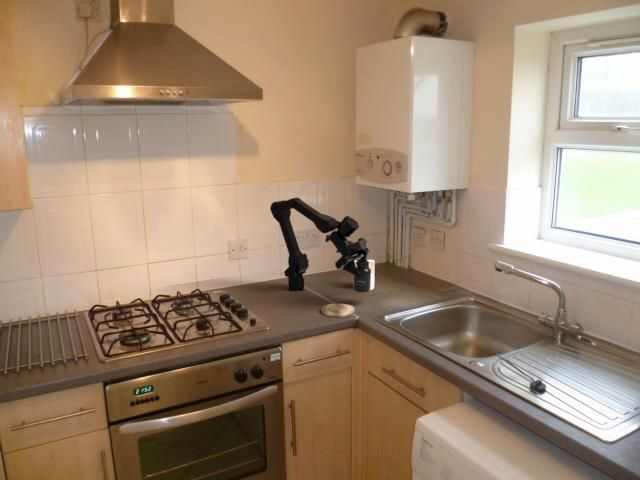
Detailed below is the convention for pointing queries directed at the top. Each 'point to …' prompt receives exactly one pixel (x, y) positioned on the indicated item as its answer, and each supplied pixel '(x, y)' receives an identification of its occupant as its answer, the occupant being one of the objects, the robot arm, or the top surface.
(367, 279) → the supplement bottle
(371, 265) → the cylinder with rectangular tab
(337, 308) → the beige round plate
